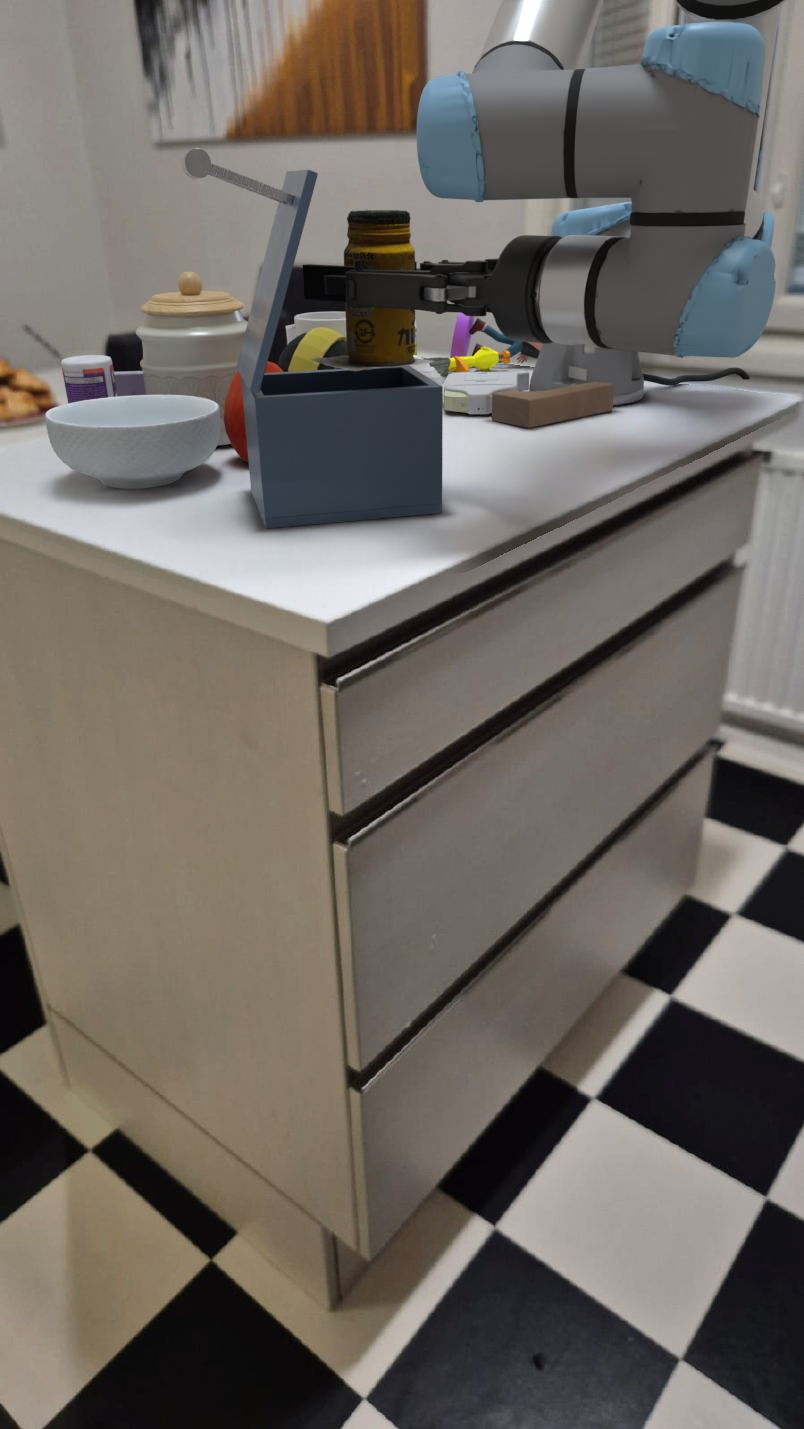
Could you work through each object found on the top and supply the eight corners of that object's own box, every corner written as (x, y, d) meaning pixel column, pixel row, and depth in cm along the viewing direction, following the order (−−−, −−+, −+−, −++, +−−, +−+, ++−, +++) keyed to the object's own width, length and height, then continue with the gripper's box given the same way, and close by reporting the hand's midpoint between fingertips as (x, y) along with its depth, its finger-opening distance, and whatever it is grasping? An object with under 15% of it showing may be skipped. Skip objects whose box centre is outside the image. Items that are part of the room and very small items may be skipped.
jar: (207, 419, 124) (190, 265, 116) (285, 431, 117) (273, 269, 109) (126, 440, 115) (102, 274, 106) (206, 454, 108) (186, 278, 100)
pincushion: (416, 394, 138) (379, 405, 137) (407, 349, 135) (369, 359, 134) (450, 403, 128) (410, 415, 127) (442, 354, 125) (401, 366, 124)
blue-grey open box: (410, 479, 98) (408, 364, 93) (442, 513, 88) (442, 386, 83) (251, 492, 95) (240, 374, 90) (265, 528, 85) (254, 398, 80)
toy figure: (517, 350, 148) (442, 363, 146) (517, 374, 150) (443, 387, 148) (499, 339, 154) (426, 352, 151) (499, 363, 156) (427, 375, 153)
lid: (295, 174, 84) (186, 131, 80) (318, 173, 74) (194, 123, 70) (244, 370, 90) (141, 337, 87) (259, 394, 80) (142, 358, 77)
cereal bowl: (253, 484, 98) (246, 411, 94) (85, 513, 90) (72, 434, 87) (189, 451, 110) (181, 385, 107) (38, 473, 103) (24, 403, 99)
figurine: (447, 369, 155) (560, 393, 153) (458, 307, 149) (575, 331, 148) (456, 355, 162) (563, 378, 161) (467, 296, 157) (578, 318, 156)
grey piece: (366, 372, 150) (377, 349, 152) (369, 382, 152) (381, 360, 154) (442, 377, 145) (453, 353, 148) (445, 387, 147) (455, 364, 149)
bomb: (260, 423, 123) (366, 468, 119) (255, 346, 113) (370, 392, 110) (306, 374, 128) (409, 415, 125) (305, 297, 119) (415, 339, 116)
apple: (311, 466, 104) (305, 358, 99) (233, 473, 102) (223, 363, 97) (296, 448, 111) (290, 347, 106) (222, 454, 109) (212, 351, 104)
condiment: (435, 363, 87) (436, 210, 81) (354, 373, 82) (350, 212, 77) (387, 354, 92) (385, 209, 86) (309, 363, 88) (301, 211, 82)
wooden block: (528, 428, 117) (613, 411, 125) (529, 399, 116) (615, 384, 124) (490, 420, 122) (574, 404, 130) (491, 393, 120) (576, 378, 128)
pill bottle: (49, 360, 107) (65, 450, 111) (87, 363, 105) (101, 455, 109) (85, 353, 111) (99, 441, 116) (122, 355, 109) (134, 445, 113)
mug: (379, 403, 132) (377, 314, 127) (334, 414, 126) (329, 321, 121) (316, 393, 139) (311, 308, 134) (269, 403, 133) (263, 315, 128)
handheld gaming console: (530, 416, 123) (528, 391, 136) (530, 392, 122) (529, 370, 135) (440, 417, 124) (448, 392, 138) (440, 394, 123) (447, 371, 136)
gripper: (485, 360, 70) (258, 336, 83) (615, 330, 83) (401, 313, 96) (488, 242, 66) (250, 236, 79) (623, 230, 79) (400, 227, 92)
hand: (333, 278), depth 87 cm, fingers closed on condiment, 6 cm apart
